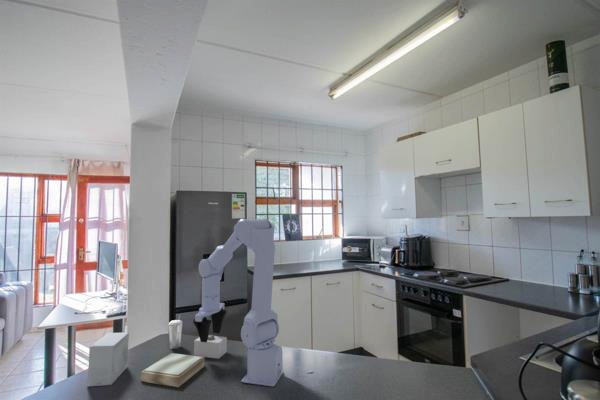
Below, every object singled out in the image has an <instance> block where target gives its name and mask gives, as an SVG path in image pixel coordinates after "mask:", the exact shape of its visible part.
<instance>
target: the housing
mask: <svg viewBox="0 0 600 400" xmlns="http://www.w3.org/2000/svg"><path fill="white" fill-rule="evenodd" d="M227 339H228V338H227V336H219V335H214V334H208V340H207V342H201V341H200V337H199V336H198V337H197V338H196V339H194V343H193V356H199V357H205V358H210V359H211V358H212V359H218V360H219V359H221V357H223V356H224V355H225V354H227V347H228V345H227V344H228V343H227V342H228V341H227Z"/></svg>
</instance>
